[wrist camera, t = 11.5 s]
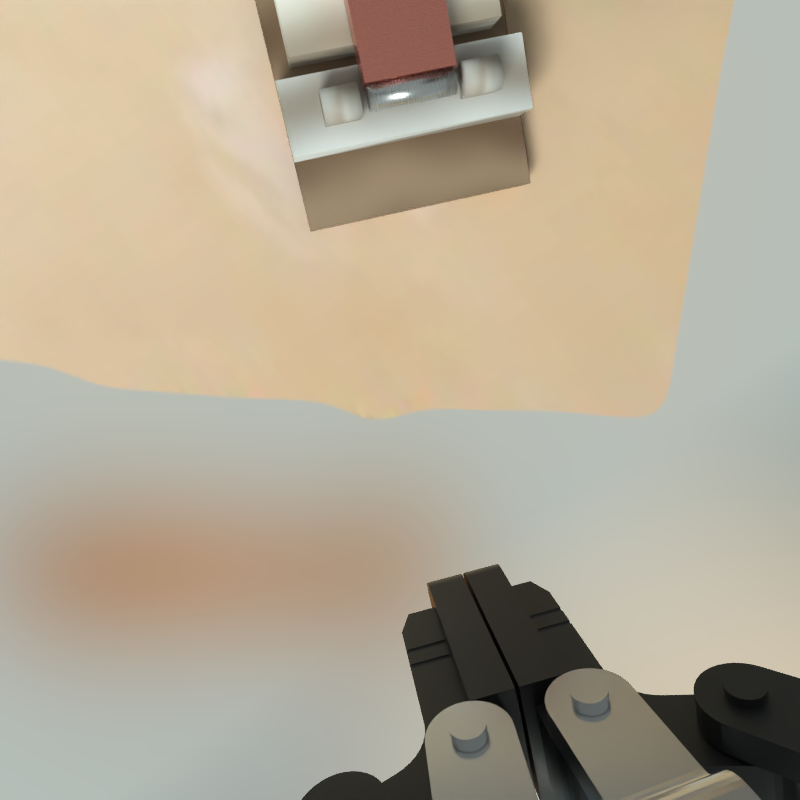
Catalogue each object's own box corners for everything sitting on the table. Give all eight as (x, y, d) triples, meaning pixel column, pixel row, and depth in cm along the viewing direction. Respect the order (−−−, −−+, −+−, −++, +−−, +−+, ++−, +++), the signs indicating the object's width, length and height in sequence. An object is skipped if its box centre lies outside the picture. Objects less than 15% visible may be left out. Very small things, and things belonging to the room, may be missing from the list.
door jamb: (522, 185, 42) (556, 175, 36) (310, 231, 41) (311, 229, 35) (463, -199, 36) (492, -280, 31) (217, -158, 35) (199, -235, 30)
